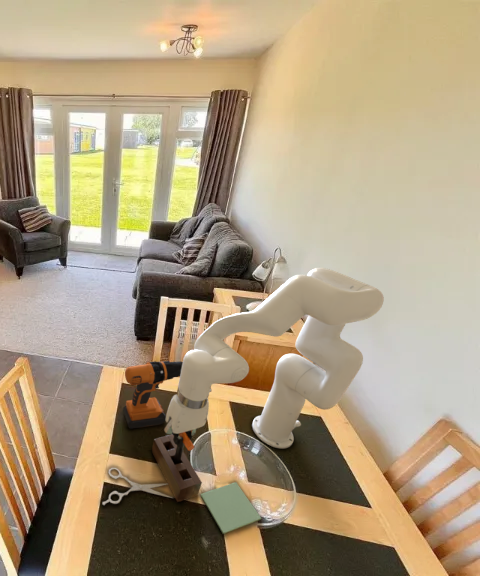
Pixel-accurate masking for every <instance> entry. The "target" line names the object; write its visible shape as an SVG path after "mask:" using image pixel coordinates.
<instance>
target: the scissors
mask: <svg viewBox="0 0 480 576" xmlns="http://www.w3.org/2000/svg"><path fill="white" fill-rule="evenodd" d="M112 470H115V471H117V473H118V475H114V474H112V473H111V471H112ZM108 475H109V477H111V478H112V479H114V480H117V479H123V480H125V481H126V482H127V483H129V485H130V486H131V488H129V489H128V490H127V491H126V492H119V491H117V490H113V491H112V492H110V493H109V495H108V499H107V500H105V501H102V504H101V505H102V506H105V505H106V504H108V503H110V504H112V505H117V504H120V502H121V501H122V499H123V497H124V496H128V494H130V493H131V492H137V491H143V492H146V493H149V494H154V495H157V496H162V497H166V498H171V499H173V497H172V496H170V495H168V494H165V493H163V492H160V491H157V490H154V489H153V488H158V487H162V486H167V485H168V483H145V484H140V483H137V482H134V481H132V480H130V479H128V477H127V476H123V475H122V472H121V471H120V470H119V469H118V468H117V467H111V468H109V469H108ZM113 495H117V496H118V500H112V499H111V497H112V496H113Z"/></svg>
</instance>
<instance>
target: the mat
mask: <svg viewBox="0 0 480 576" xmlns="http://www.w3.org/2000/svg"><path fill="white" fill-rule="evenodd" d="M200 497H201V499H202V500H203V502H204V504H205V506H206V507H207V509H208V511H209V513H210V514H211V516H212V518H213V520H214V521H215V523H216V524H217V526H218V528H219V530H220V531H221V533H222V535H225V534H227V533H230V532H233V531H235V530H237V529H240V528H242V527H246V526H248V525H250V524H253V523H256V522H258V521H260V520H262V517H261V515H260V514H259V513H258V511H257V509H255V507H254V505H253V504H252V502H251V501H250V499H249V498H248V497H247V496H246V494H245V492H244V491H243V490H242V489H241V487H240V486H239V484H238V482H237V481H235V482H232V483H228V484H226V485H222V486H220V487H217V488H214V489H211V490H208V491H205V492H203V493H200Z"/></svg>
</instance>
